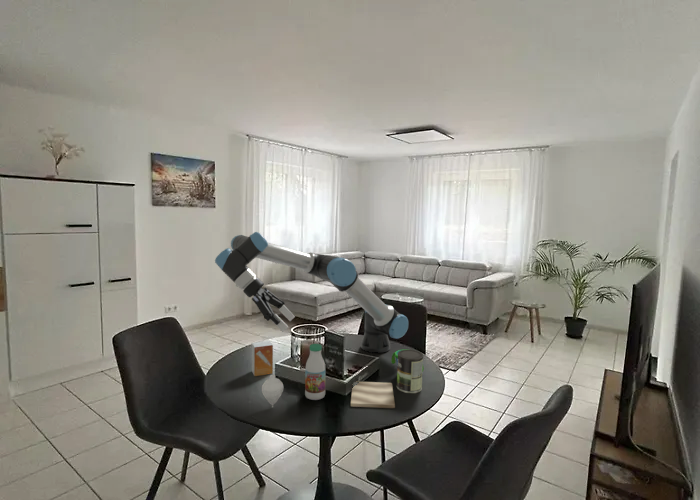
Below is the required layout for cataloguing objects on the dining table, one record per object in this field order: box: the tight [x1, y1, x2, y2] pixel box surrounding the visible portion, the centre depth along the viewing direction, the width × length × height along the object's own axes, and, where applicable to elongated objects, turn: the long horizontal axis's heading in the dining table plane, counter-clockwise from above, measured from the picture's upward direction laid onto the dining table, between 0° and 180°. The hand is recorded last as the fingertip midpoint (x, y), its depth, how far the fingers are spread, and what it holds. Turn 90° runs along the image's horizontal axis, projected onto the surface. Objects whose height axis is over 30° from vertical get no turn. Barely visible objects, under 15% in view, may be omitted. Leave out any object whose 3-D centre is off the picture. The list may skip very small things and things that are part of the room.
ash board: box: [350, 381, 396, 409], centre depth 148 cm, size 18×16×1 cm
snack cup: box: [390, 348, 425, 373], centre depth 166 cm, size 16×10×10 cm
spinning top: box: [261, 374, 284, 408], centre depth 138 cm, size 8×8×12 cm
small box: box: [251, 340, 274, 377], centre depth 167 cm, size 8×6×13 cm
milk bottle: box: [304, 343, 326, 401], centre depth 146 cm, size 8×8×20 cm
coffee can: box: [396, 349, 424, 394], centre depth 155 cm, size 10×10×14 cm
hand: (289, 324), depth 145 cm, fingers open, 13 cm apart
